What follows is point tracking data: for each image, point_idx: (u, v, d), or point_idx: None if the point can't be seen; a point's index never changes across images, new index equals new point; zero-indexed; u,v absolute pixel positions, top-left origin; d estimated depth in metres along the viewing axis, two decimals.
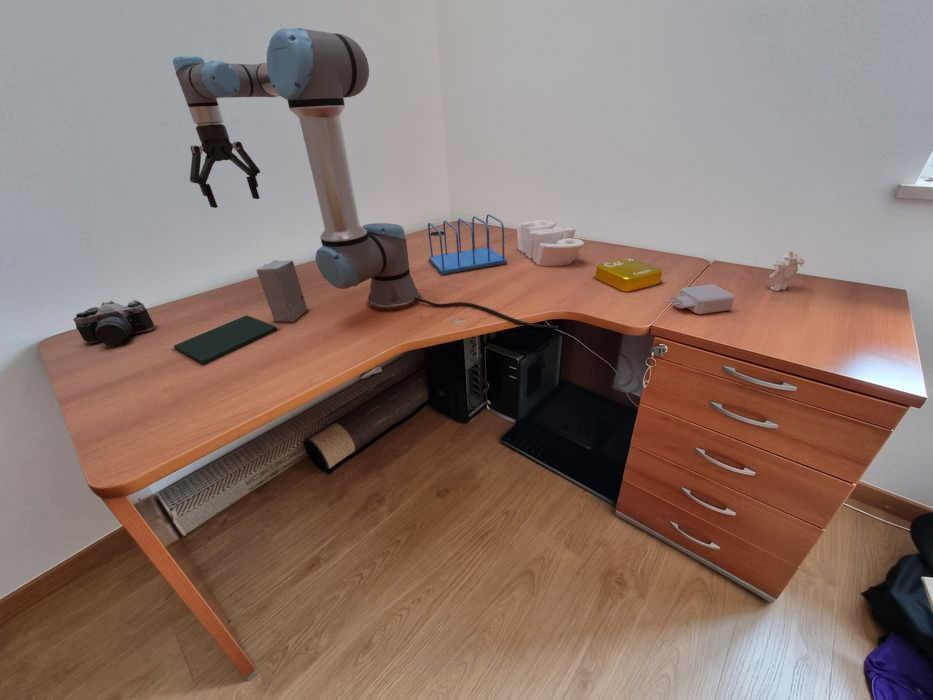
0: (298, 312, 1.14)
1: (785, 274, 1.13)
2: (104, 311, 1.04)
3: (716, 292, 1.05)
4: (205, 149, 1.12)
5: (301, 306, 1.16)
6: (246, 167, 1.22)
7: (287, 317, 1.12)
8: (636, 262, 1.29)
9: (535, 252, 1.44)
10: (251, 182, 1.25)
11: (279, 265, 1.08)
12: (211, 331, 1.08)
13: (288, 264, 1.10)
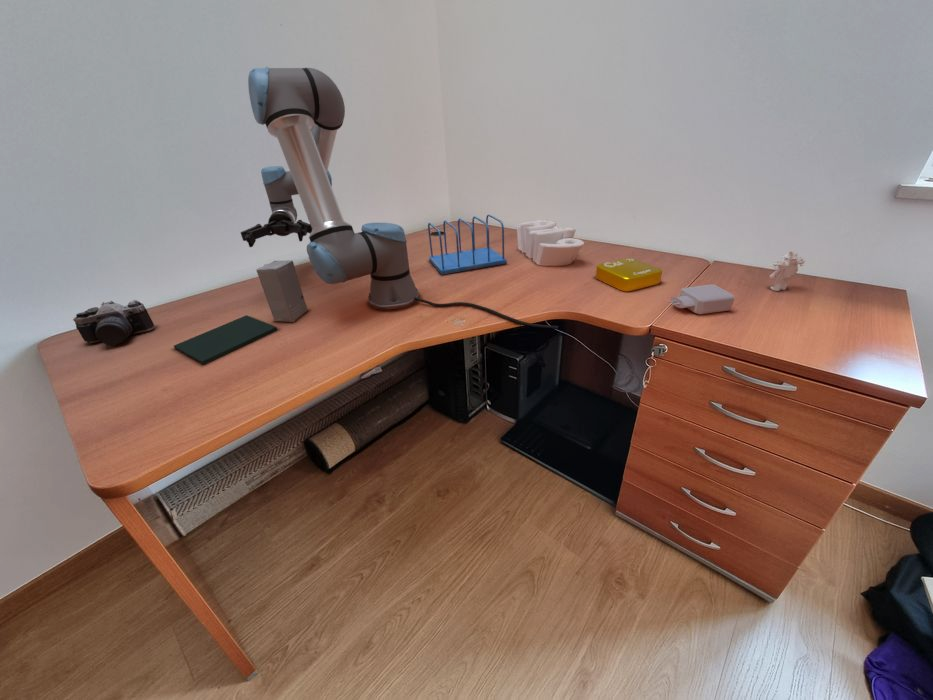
0: (298, 312, 1.14)
1: (785, 274, 1.13)
2: (104, 311, 1.04)
3: (716, 292, 1.05)
4: None
5: (301, 306, 1.16)
6: (297, 225, 1.23)
7: (287, 317, 1.12)
8: (636, 261, 1.29)
9: (535, 252, 1.44)
10: None
11: (279, 265, 1.08)
12: (211, 331, 1.08)
13: (288, 264, 1.10)
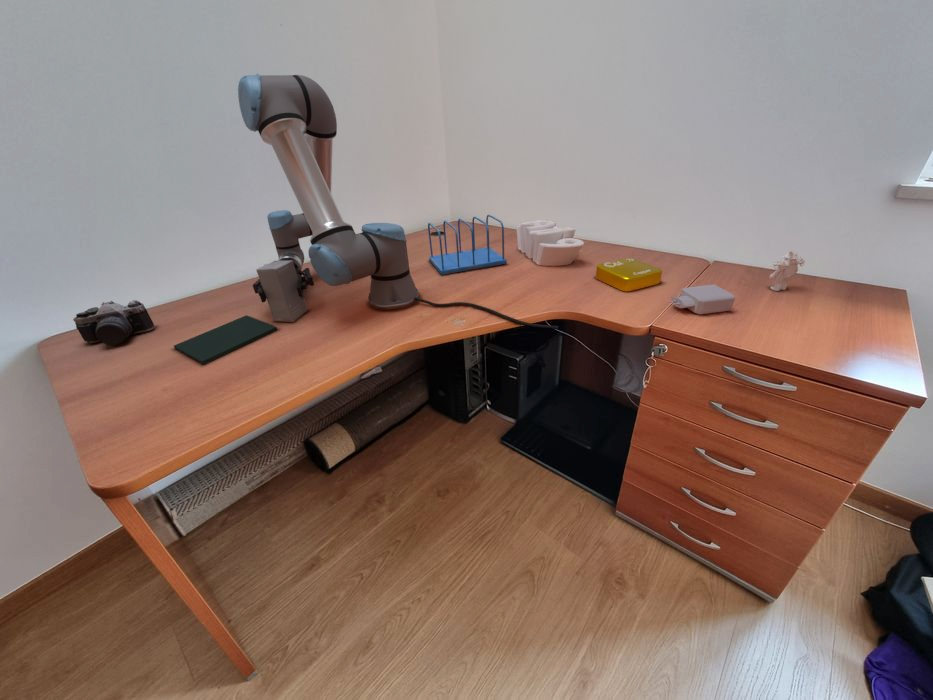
0: (298, 312, 1.14)
1: (785, 274, 1.13)
2: (104, 311, 1.04)
3: (717, 292, 1.05)
4: None
5: (301, 306, 1.16)
6: (300, 276, 1.17)
7: (287, 317, 1.12)
8: (636, 261, 1.29)
9: (535, 252, 1.44)
10: None
11: (279, 265, 1.08)
12: (211, 331, 1.08)
13: (288, 264, 1.10)
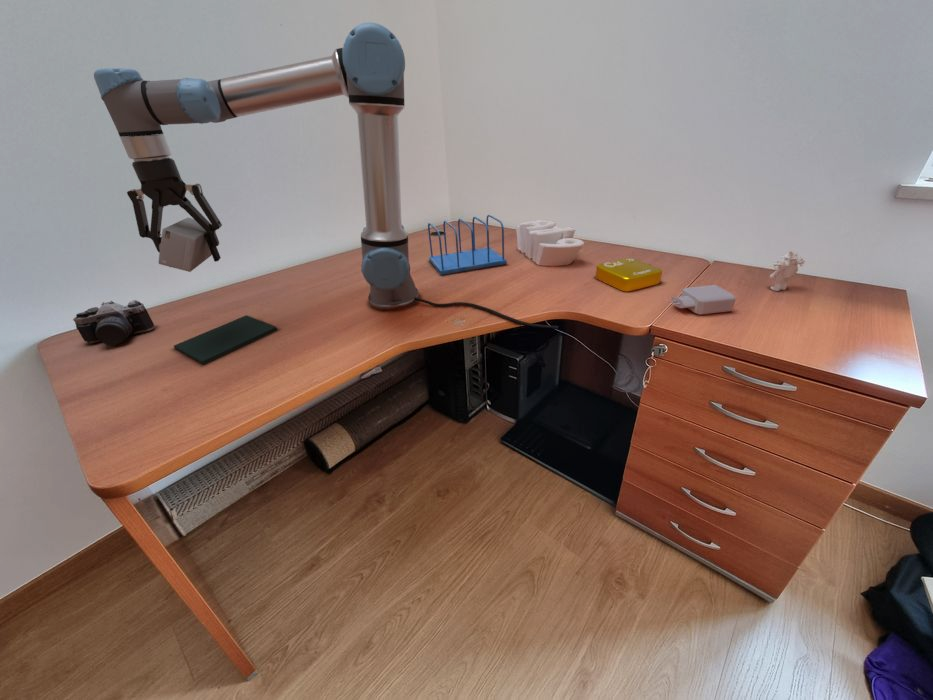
0: None
1: (785, 274, 1.13)
2: (104, 311, 1.04)
3: (717, 293, 1.05)
4: (142, 191, 0.85)
5: None
6: (199, 220, 0.90)
7: None
8: (636, 262, 1.29)
9: (535, 252, 1.44)
10: None
11: (187, 258, 0.88)
12: (211, 331, 1.08)
13: (195, 249, 0.88)
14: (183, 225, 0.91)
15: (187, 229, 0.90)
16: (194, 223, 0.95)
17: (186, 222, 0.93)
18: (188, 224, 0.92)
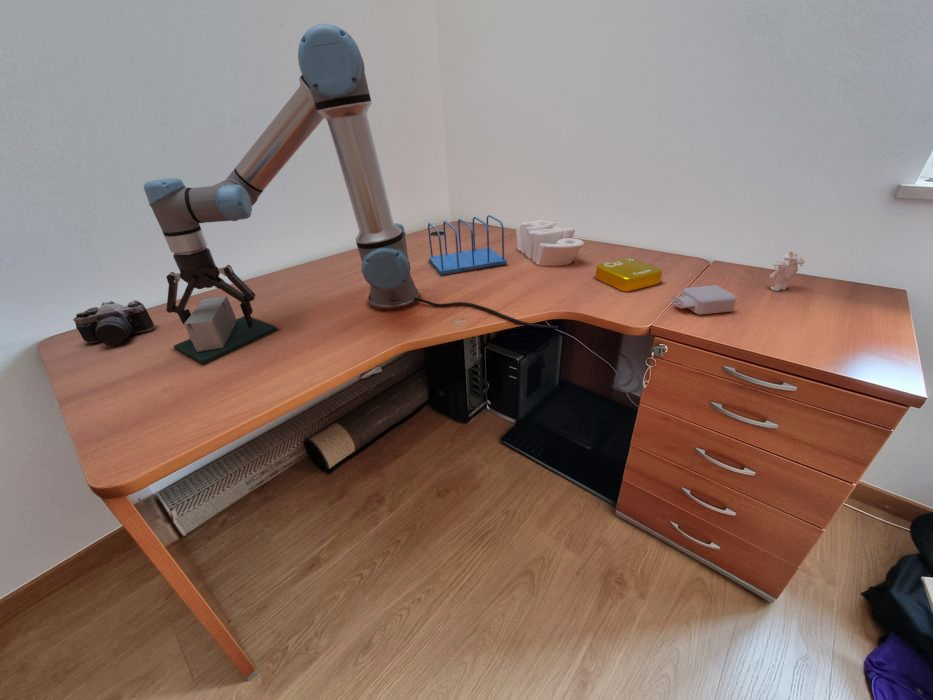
0: (232, 312, 1.10)
1: (785, 274, 1.13)
2: (104, 311, 1.04)
3: (718, 293, 1.05)
4: (181, 278, 0.95)
5: (228, 308, 1.08)
6: (234, 295, 1.00)
7: None
8: (636, 261, 1.29)
9: (535, 252, 1.44)
10: None
11: (215, 338, 0.98)
12: None
13: (216, 328, 0.97)
14: (199, 310, 1.00)
15: (203, 313, 0.99)
16: (208, 303, 1.04)
17: (201, 306, 1.03)
18: (203, 307, 1.02)
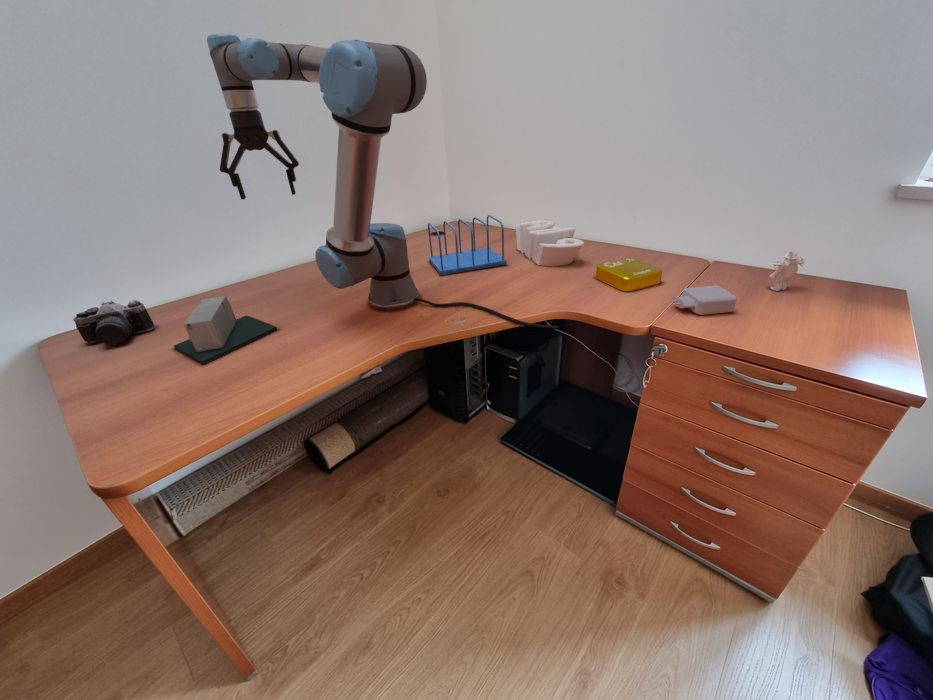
0: (231, 312, 1.10)
1: (785, 274, 1.13)
2: (104, 311, 1.04)
3: (718, 293, 1.05)
4: (235, 137, 1.05)
5: (228, 308, 1.08)
6: (281, 159, 1.10)
7: None
8: (636, 262, 1.29)
9: (535, 252, 1.44)
10: None
11: (214, 338, 0.98)
12: None
13: (215, 328, 0.97)
14: (199, 311, 1.00)
15: (203, 313, 0.99)
16: (207, 303, 1.04)
17: (201, 306, 1.03)
18: (202, 308, 1.02)
